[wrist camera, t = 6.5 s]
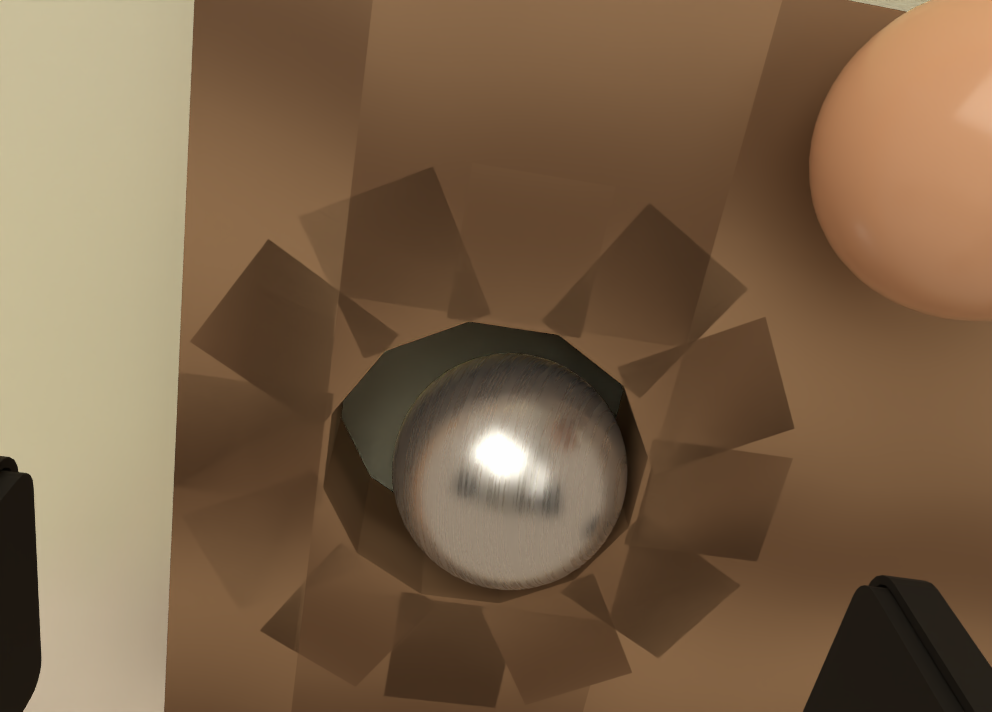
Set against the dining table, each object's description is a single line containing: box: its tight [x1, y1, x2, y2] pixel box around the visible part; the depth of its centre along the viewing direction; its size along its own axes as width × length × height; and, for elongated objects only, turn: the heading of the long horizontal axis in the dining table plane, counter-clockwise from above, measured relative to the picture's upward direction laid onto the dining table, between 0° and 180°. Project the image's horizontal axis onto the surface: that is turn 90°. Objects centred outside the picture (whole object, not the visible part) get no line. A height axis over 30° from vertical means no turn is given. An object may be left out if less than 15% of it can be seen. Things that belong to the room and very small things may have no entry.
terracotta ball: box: [809, 0, 992, 321], centre depth 11 cm, size 4×4×4 cm
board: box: [164, 0, 992, 712], centre depth 17 cm, size 16×19×2 cm
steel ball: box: [392, 353, 628, 590], centre depth 16 cm, size 4×4×4 cm
